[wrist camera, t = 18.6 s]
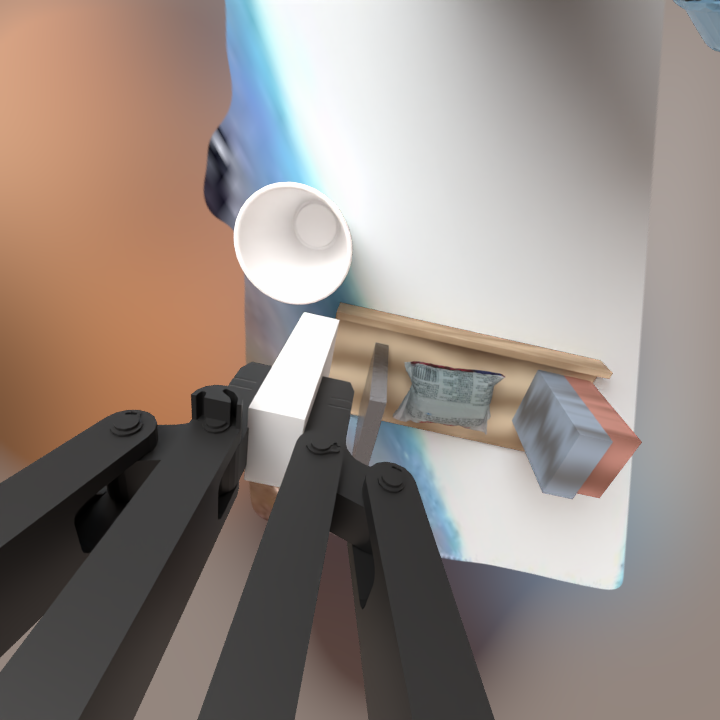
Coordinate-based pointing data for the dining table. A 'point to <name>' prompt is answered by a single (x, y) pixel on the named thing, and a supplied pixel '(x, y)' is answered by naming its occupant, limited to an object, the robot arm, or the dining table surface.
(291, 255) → the cup
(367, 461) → the bookend
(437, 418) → the packaged food
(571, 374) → the wooden book rack
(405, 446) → the dining table surface
